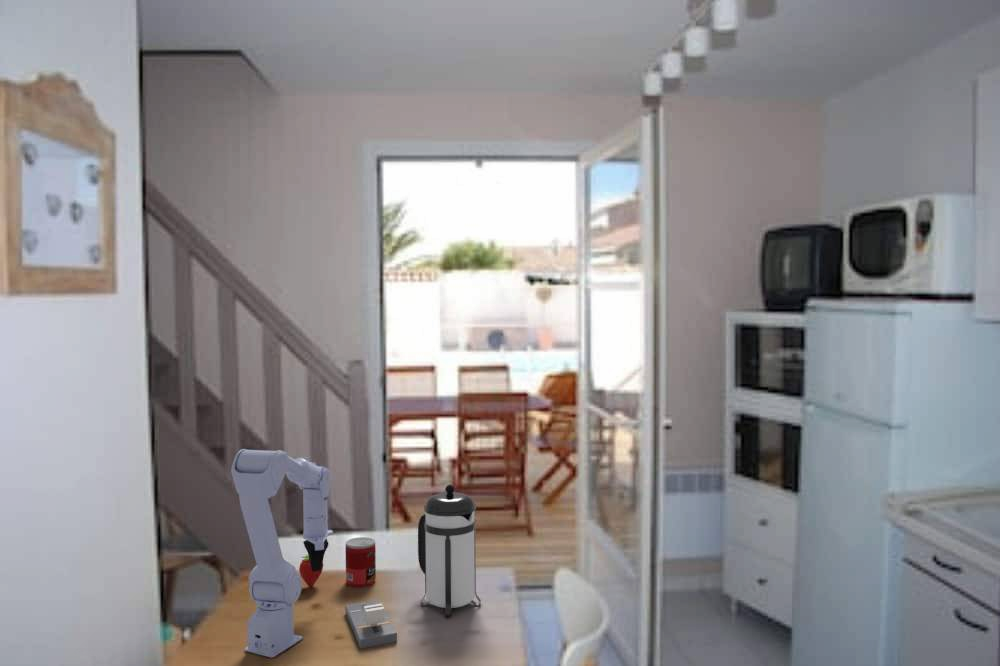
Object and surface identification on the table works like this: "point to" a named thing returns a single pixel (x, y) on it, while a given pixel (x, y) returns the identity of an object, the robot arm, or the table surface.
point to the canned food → (360, 562)
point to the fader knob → (373, 614)
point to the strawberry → (308, 572)
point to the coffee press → (448, 550)
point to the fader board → (369, 626)
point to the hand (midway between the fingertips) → (316, 570)
